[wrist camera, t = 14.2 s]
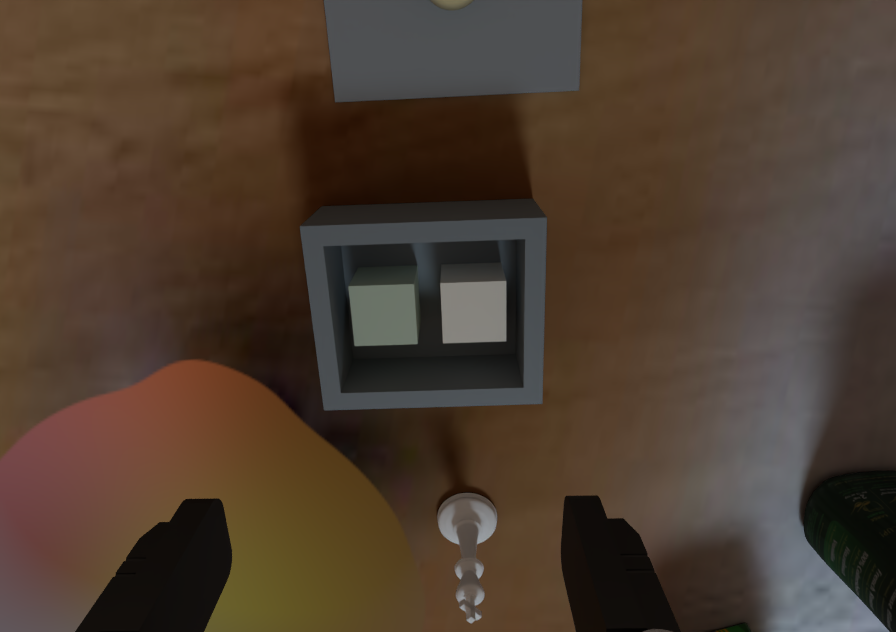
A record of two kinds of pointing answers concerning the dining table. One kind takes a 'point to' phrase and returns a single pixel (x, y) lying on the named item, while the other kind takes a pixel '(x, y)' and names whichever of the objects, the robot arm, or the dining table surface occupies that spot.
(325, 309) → the box
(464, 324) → the cream block
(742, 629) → the chalk box
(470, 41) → the lid
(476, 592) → the chess piece
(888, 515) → the coffee jar
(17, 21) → the dining table surface
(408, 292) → the sage block
